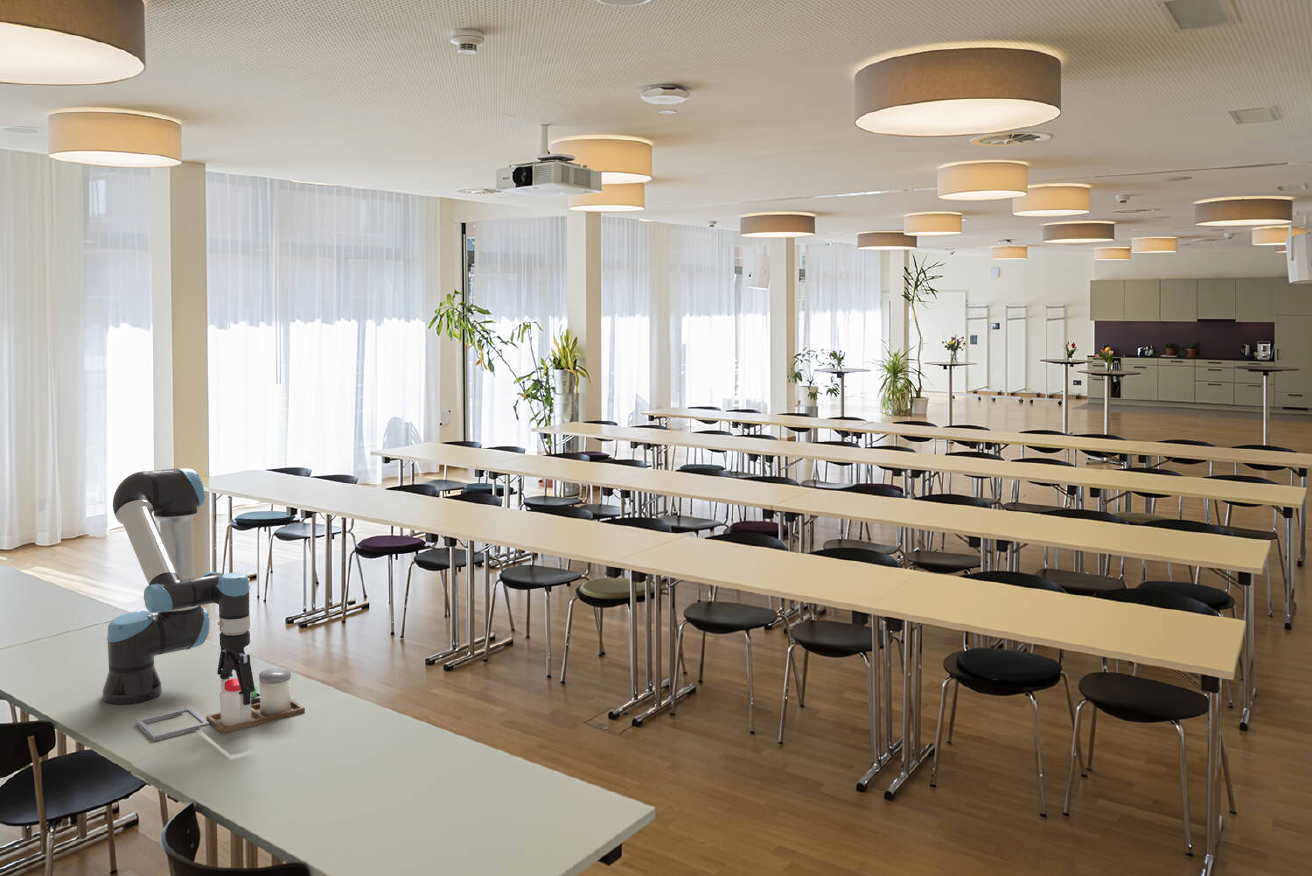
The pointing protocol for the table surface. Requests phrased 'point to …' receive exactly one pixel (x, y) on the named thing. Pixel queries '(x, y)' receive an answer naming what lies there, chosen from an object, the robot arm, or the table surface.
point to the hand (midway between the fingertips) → (236, 708)
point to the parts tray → (154, 736)
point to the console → (256, 698)
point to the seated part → (275, 691)
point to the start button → (254, 693)
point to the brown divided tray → (254, 717)
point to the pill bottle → (231, 704)
